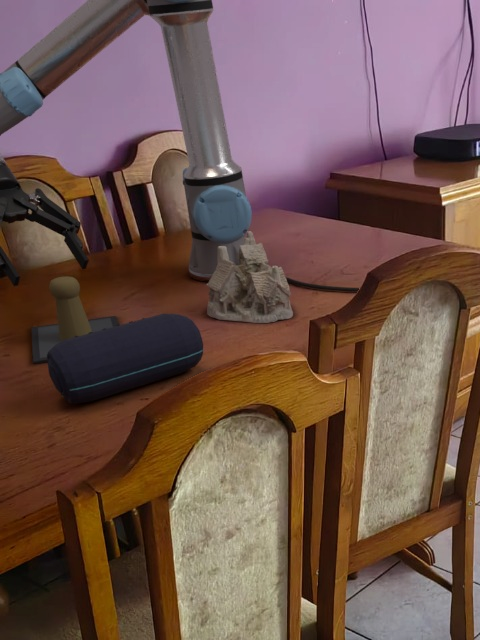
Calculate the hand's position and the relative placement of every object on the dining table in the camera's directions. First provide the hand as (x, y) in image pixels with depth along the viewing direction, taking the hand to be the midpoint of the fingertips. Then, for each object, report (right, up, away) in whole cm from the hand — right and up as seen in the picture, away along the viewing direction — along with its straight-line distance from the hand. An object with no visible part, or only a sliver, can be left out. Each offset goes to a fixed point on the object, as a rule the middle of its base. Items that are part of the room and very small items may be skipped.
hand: (52, 272), depth 154 cm
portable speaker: (+20, -24, -15) cm, 34 cm away
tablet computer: (+3, -11, +4) cm, 12 cm away
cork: (+3, -11, +4) cm, 12 cm away
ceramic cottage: (+34, -3, +16) cm, 37 cm away
